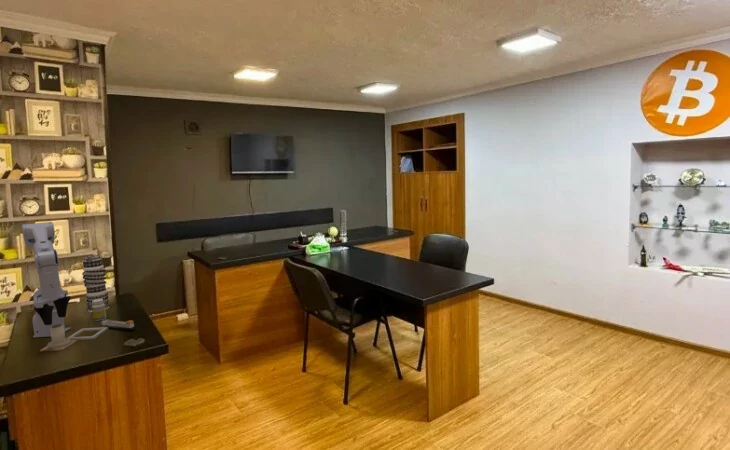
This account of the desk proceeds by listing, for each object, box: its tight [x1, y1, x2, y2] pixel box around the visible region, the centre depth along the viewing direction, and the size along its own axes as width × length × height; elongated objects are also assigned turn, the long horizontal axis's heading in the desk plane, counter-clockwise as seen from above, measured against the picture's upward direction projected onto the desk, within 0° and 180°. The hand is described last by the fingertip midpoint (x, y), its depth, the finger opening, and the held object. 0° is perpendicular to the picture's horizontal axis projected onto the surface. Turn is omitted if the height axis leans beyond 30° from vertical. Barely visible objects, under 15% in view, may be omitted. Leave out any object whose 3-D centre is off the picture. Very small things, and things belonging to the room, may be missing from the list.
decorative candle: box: [81, 254, 110, 313], centre depth 194 cm, size 9×9×25 cm
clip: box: [100, 318, 135, 329], centre depth 169 cm, size 3×16×2 cm, turn 69°
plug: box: [46, 324, 71, 349], centre depth 154 cm, size 7×7×7 cm
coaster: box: [39, 340, 78, 352], centre depth 154 cm, size 8×8×1 cm
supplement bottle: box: [92, 299, 108, 322], centre depth 181 cm, size 5×5×8 cm
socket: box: [67, 326, 109, 341], centre depth 164 cm, size 10×10×1 cm
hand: (55, 320), depth 153 cm, fingers open, 7 cm apart
